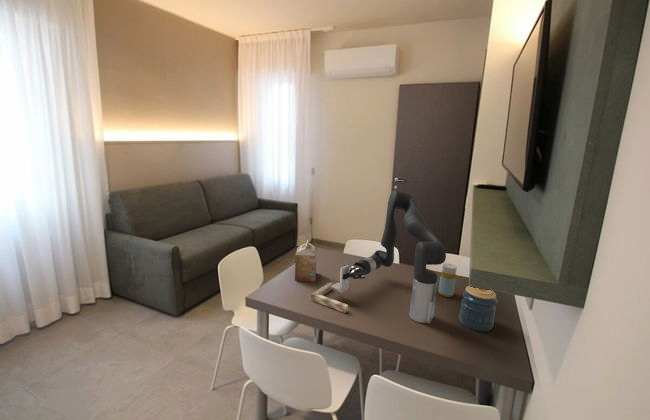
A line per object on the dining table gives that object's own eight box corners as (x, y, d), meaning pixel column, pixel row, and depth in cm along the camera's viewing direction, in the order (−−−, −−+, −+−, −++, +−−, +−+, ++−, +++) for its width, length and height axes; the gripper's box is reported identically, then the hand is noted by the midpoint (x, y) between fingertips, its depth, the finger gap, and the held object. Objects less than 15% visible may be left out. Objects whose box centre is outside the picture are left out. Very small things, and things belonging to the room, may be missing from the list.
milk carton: (315, 281, 161) (316, 246, 157) (294, 280, 161) (295, 245, 157) (316, 273, 171) (317, 240, 167) (296, 271, 171) (297, 238, 167)
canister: (497, 334, 122) (505, 293, 119) (462, 329, 125) (468, 288, 121) (487, 317, 135) (494, 279, 131) (455, 312, 137) (461, 275, 133)
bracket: (348, 289, 144) (349, 265, 141) (341, 293, 140) (342, 268, 137) (337, 284, 148) (338, 261, 145) (330, 288, 144) (331, 264, 141)
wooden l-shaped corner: (362, 298, 145) (362, 292, 145) (345, 313, 132) (345, 306, 131) (329, 287, 155) (329, 281, 154) (310, 300, 142) (311, 294, 141)
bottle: (437, 295, 152) (441, 266, 149) (439, 289, 158) (443, 262, 155) (452, 299, 149) (456, 269, 146) (454, 293, 155) (458, 265, 152)
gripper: (354, 255, 155) (331, 264, 143) (377, 263, 146) (354, 274, 134) (353, 269, 157) (330, 279, 144) (375, 278, 148) (353, 290, 135)
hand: (342, 276), depth 139 cm, fingers closed on bracket, 1 cm apart
